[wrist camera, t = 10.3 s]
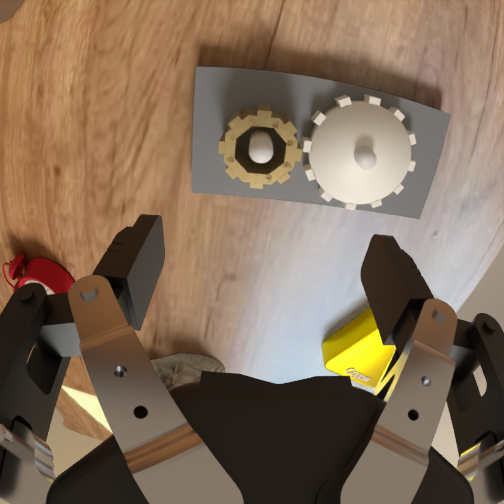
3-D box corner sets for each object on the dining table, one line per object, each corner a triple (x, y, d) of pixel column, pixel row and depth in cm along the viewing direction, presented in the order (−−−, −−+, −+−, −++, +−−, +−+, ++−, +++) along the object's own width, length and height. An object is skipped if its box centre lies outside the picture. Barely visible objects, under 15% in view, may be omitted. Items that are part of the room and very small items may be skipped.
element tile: (315, 344, 46) (318, 369, 42) (392, 287, 39) (403, 312, 35) (369, 371, 51) (374, 392, 47) (435, 326, 44) (445, 347, 40)
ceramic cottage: (236, 365, 48) (223, 448, 36) (208, 399, 58) (195, 464, 46) (146, 332, 46) (115, 413, 34) (136, 373, 55) (114, 437, 43)
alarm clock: (80, 334, 41) (-1, 316, 35) (86, 304, 45) (11, 288, 40) (76, 289, 35) (-15, 269, 29) (85, 258, 40) (1, 242, 34)
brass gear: (226, 100, 24) (221, 107, 20) (300, 108, 24) (307, 116, 21) (222, 167, 27) (216, 184, 24) (291, 174, 27) (295, 192, 24)
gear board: (200, 66, 23) (180, 68, 17) (440, 110, 24) (482, 129, 18) (195, 184, 30) (179, 220, 24) (412, 210, 31) (441, 247, 25)
